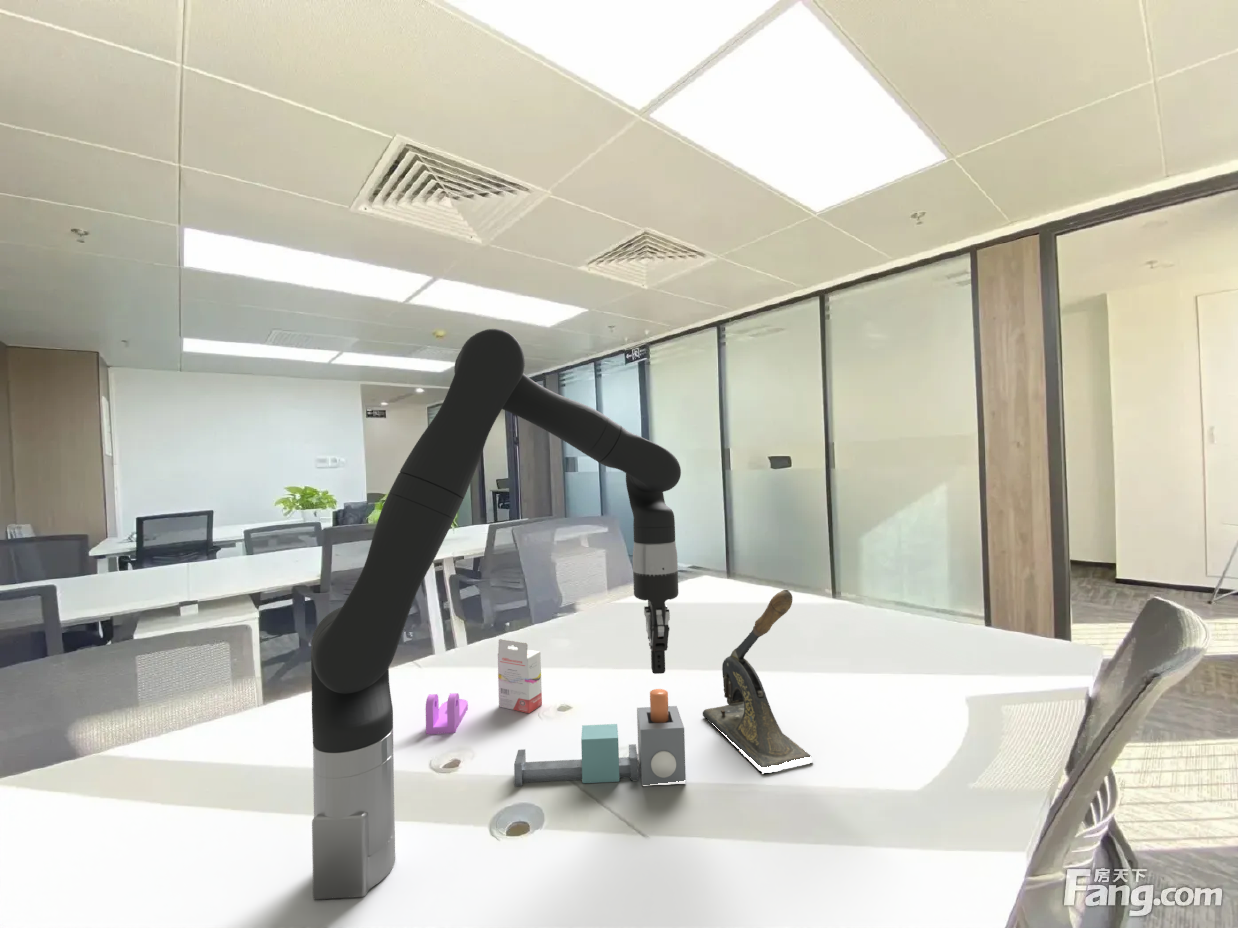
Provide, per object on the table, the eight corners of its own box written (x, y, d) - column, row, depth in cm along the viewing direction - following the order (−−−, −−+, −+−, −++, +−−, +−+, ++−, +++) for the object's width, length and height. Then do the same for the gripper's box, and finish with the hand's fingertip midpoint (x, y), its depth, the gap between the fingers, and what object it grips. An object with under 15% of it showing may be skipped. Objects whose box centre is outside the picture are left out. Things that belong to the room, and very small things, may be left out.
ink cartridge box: (543, 704, 115) (541, 637, 115) (529, 714, 111) (527, 643, 111) (512, 698, 119) (510, 632, 119) (497, 706, 115) (496, 638, 115)
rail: (638, 780, 86) (637, 757, 86) (514, 786, 85) (514, 763, 85) (636, 765, 90) (635, 744, 90) (518, 771, 89) (518, 749, 89)
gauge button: (669, 722, 87) (668, 695, 87) (651, 723, 87) (650, 696, 87) (667, 714, 90) (666, 688, 90) (649, 715, 90) (649, 689, 90)
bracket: (454, 733, 103) (454, 697, 103) (426, 734, 103) (425, 699, 103) (470, 704, 116) (469, 673, 116) (445, 705, 116) (444, 674, 116)
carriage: (619, 781, 85) (618, 737, 85) (582, 783, 85) (581, 739, 85) (618, 765, 90) (617, 723, 90) (583, 766, 90) (582, 725, 90)
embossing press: (749, 709, 110) (744, 566, 111) (819, 769, 88) (813, 588, 88) (700, 716, 108) (696, 569, 108) (761, 780, 85) (755, 594, 85)
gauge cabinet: (686, 785, 84) (684, 728, 84) (642, 788, 83) (640, 730, 84) (678, 757, 92) (676, 705, 92) (638, 759, 92) (636, 707, 92)
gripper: (683, 575, 82) (687, 686, 82) (671, 561, 95) (674, 657, 95) (636, 576, 82) (639, 688, 82) (630, 562, 95) (633, 659, 95)
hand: (658, 671), depth 88 cm, fingers closed
